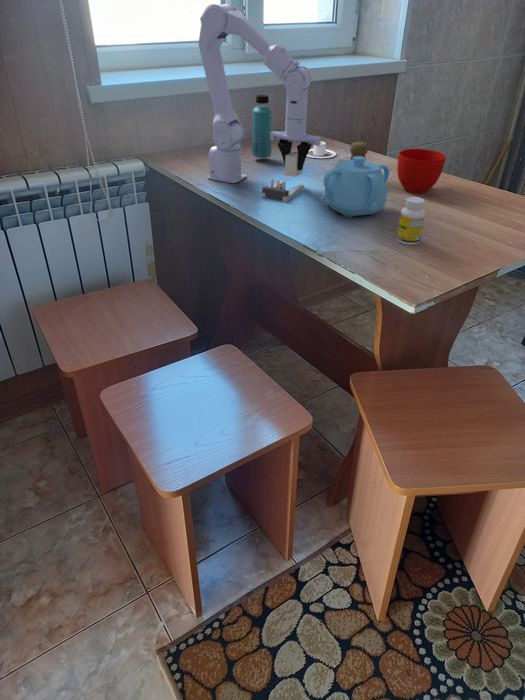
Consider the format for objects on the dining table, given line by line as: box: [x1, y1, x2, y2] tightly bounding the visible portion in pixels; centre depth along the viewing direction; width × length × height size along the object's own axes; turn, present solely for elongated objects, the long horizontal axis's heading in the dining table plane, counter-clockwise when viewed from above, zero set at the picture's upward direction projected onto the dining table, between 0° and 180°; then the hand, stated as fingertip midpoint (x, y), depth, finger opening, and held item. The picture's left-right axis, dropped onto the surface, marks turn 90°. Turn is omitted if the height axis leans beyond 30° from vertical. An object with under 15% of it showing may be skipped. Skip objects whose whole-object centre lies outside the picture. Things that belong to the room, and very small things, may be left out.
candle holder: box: [306, 140, 337, 159], centre depth 179 cm, size 12×12×4 cm
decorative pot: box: [320, 156, 390, 219], centre depth 131 cm, size 16×16×14 cm
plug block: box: [284, 151, 303, 178], centre depth 147 cm, size 4×4×6 cm
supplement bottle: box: [396, 196, 426, 246], centre depth 116 cm, size 5×5×10 cm
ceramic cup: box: [396, 148, 447, 194], centre depth 148 cm, size 13×17×10 cm
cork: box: [349, 141, 369, 160], centre depth 153 cm, size 6×6×11 cm
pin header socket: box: [260, 178, 305, 202], centre depth 144 cm, size 8×12×4 cm, turn 152°
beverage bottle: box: [251, 94, 273, 159], centre depth 167 cm, size 6×7×20 cm
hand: (293, 168), depth 147 cm, fingers closed on plug block, 3 cm apart
